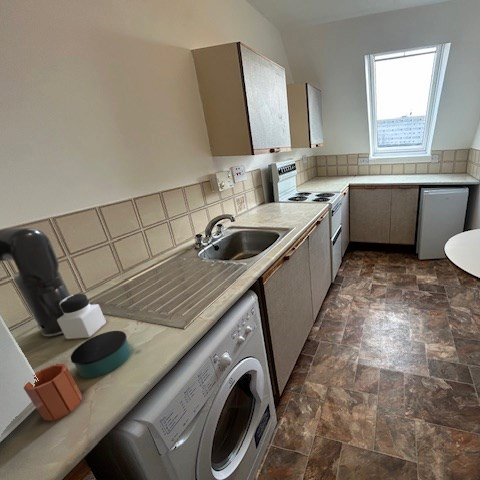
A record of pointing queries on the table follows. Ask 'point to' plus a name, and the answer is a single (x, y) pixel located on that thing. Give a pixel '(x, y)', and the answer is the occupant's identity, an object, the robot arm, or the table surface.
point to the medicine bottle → (80, 317)
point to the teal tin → (101, 354)
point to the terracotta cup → (54, 392)
